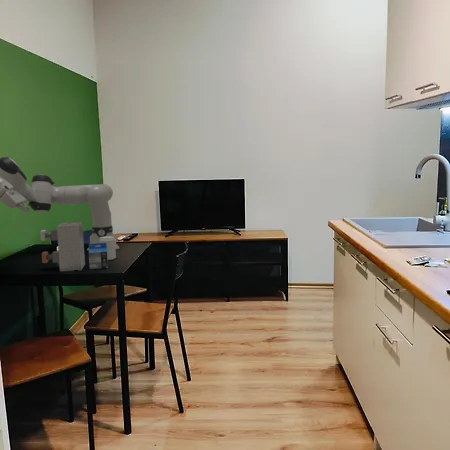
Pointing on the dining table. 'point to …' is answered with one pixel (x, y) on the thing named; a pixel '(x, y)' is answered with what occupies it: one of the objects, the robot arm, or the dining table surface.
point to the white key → (44, 235)
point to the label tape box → (98, 256)
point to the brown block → (46, 257)
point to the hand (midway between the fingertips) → (27, 210)
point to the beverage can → (109, 246)
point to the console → (69, 246)
